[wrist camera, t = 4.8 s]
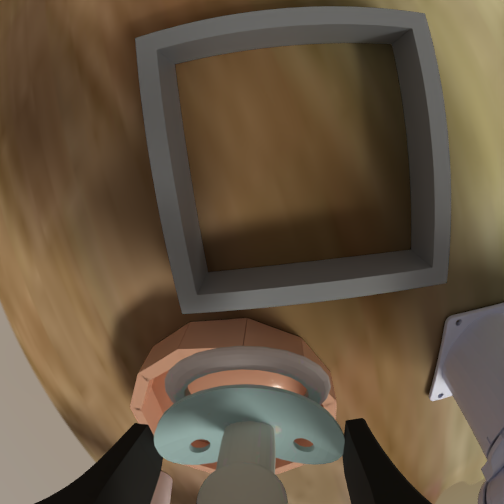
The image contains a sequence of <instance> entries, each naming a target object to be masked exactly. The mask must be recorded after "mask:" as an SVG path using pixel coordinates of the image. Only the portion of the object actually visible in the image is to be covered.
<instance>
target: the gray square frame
mask: <svg viewBox="0 0 504 504" xmlns="http://www.w3.org/2000/svg"><path fill="white" fill-rule="evenodd" d="M135 42H136V54H137V65H138V75H139V85H140V94H141V102H142V110H143V118H144V125H145V132H146V139H147V146H148V152H149V159H150V165H151V171H152V177H153V182H154V188H155V193H156V199H157V204H158V209H159V214H160V220H161V224H162V229H163V234H164V239H165V244H166V248H167V253H168V257H169V262H170V266H171V270H172V275H173V279H174V283H175V287H176V291H177V295H178V299H179V303H180V307H181V311H182V314H191V313H206V312H219V311H232V310H244V309H255V308H266V307H276V306H286V305H295V304H304V303H313V302H321V301H330V300H338V299H345V298H353V297H360V296H368V295H375V294H382V293H389V292H395V291H402V290H408V289H414V288H420V287H426V286H432V285H438V284H444V283H447V276H448V265H449V251H450V232H451V174H450V155H449V142H448V131H447V122H446V113H445V106H444V99H443V92H442V86H441V80H440V75H439V70H438V65H437V60H436V55H435V51H434V46H433V42H432V38H431V34H430V30H429V26H428V23H427V19H426V16H425V13H418V12H411V11H403V10H394V9H383V8H370V7H345V6H320V7H296V8H282V9H271V10H261V11H253V12H246V13H239V14H233V15H227V16H221V17H215V18H210V19H205V20H201V21H196V22H192V23H187V24H183V25H179V26H175V27H171V28H168V29H164V30H160V31H157V32H153V33H150V34H147V35H144V36H140V37H137V38H135ZM321 43H375V44H392V48H393V52H394V57H395V62H396V67H397V73H398V78H399V84H400V90H401V96H402V103H403V110H404V118H405V126H406V135H407V145H408V156H409V170H410V189H411V250H403V251H395V252H386V253H378V254H370V255H361V256H353V257H344V258H336V259H327V260H318V261H309V262H300V263H291V264H282V265H273V266H264V267H254V268H245V269H235V270H226V271H216V272H208V269H207V264H206V259H205V254H204V248H203V243H202V238H201V232H200V227H199V221H198V216H197V210H196V204H195V198H194V192H193V187H192V180H191V174H190V168H189V162H188V155H187V149H186V142H185V136H184V129H183V122H182V115H181V108H180V100H179V93H178V85H177V77H176V69H175V64H178V63H182V62H186V61H191V60H195V59H200V58H205V57H210V56H215V55H221V54H226V53H232V52H239V51H245V50H252V49H260V48H269V47H278V46H289V45H302V44H321Z"/></svg>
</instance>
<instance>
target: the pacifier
mask: <svg viewBox="0 0 504 504" xmlns="http://www.w3.org/2000/svg"><path fill="white" fill-rule="evenodd" d="M240 369H243V370H261V371H268V372H273V373H278V374H281V375H284V376H287V377H290V378H292V379H294V380H296V381H298V382H300V383H301V384H302V385H303V386H304V387H305V388H306V389H307V391H306V393H305V395H304V396H302V395H300V394H297V393H295V392H292V391H288V390H285V389H281V388H277V387H271V386H265V385H254V384H235V385H224V386H218V387H213V388H209V389H205V390H201V391H198V392H196V393H193V394H191V393H190V391H189V389H188V385H189V384H190V383H192V382H193V381H194V380H196V379H198V378H200V377H203V376H205V375H208V374H211V373H216V372H221V371H227V370H240ZM164 380H165V390H166V393H167V394H168V396H169V398H170V399H171V401H172V402H173V403H174V404H173V405H172V406H171V407H170V408H169V409H167V410H166V411H165V412H164V414H163V415H162V417H161V418H160V420H159V422H158V425H157V428H156V430H155V434H154V446H155V447H156V449H157V451H158V453H159V454H160V455H161V456H162V457H164V458H165V459H166V460H168V461H171V462H173V463H179V464H184V465H200V464H208V463H214V462H217V467H216V470H215V471H214V472H213V473H212V474H210V475H209V476H208V478H207V479H206V480H205V481H204V483H203V484H202V486H201V488H200V490H199V493H198V497H197V504H288V501H287V494H286V491H285V488H284V486H283V484H282V482H281V481H280V480H279V478H278V477H277V476H276V475H275V463H276V458H279V459H282V460H286V461H291V462H296V463H302V464H326V463H331V462H334V461H336V460H338V459H339V458H340V457H341V456H342V455H343V450H344V443H345V439H344V434H343V432H342V430H341V428H340V426H339V424H338V423H337V421H336V420H335V418H334V417H333V416H332V415H331V414H330V413H329V412H328V411H327V410H326V409H325V408H323V407H322V406H321V404H322V403H323V402H324V401H325V400H326V399H327V397H328V394H329V391H330V388H331V384H330V379H329V376H328V375H327V373H326V372H325V371H324V370H323V369H322V367H321V366H320V365H318V364H316V363H315V362H313V361H311V360H310V359H308V358H306V357H305V356H302V355H299V354H296V353H293V352H290V351H287V350H281V349H275V348H269V347H262V346H232V347H221V348H214V349H210V350H206V351H202V352H198V353H195V354H193V355H191V356H189V357H186V358H184V359H182V360H180V361H179V362H178V363H176V364H175V365H174V366H173V367H172V368H171V369H169V371H168V373H167V375H166V377H165V379H164ZM297 438H303V439H307V440H309V441H310V442H312V443H313V445H312V446H310V447H303V446H300V445H298V444H297V443H295V442H294V440H295V439H297ZM198 439H205V440H208V441H209V442H210V444H209V445H207V446H205V447H202V448H196V447H193V446H192V445H191V443H192V442H193V441H195V440H198Z"/></svg>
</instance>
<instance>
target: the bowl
mask: <svg viewBox="0 0 504 504" xmlns="http://www.w3.org/2000/svg"><path fill="white" fill-rule="evenodd" d="M232 346H262V347H269V348H275V349H281V350H287V351H290V352H293V353H296V354H299V355H302V356H305V357H306V358H308V359H310V360H311V361H313V362H315V363H316V364H318V365H320V366H321V367H322V369H323V370H324V371H325V372H326V373H327V375H328V376H329V379H330V384H331V388H330V391H329V394H328V397H327V399H326V400H325V401H324V402H323V403H322V404H321V406H322V407H323V408H325V409H326V410H327V411H328V412H329V413H330V414H331V415H332V416H333V417H334V418H335V420H336V406H337V401H336V397H335V392H334V387H333V382H332V377H331V373H330V371H329V370H328V368H327V367H326V366H325V365H324V364H323V363H322V361H321V360H320V359H319V358H318V357H317V356H316V354H315V353H314V352H313V351H312V350H311V348H310V347H309V346H308V345H307V344H306V343H305V341H304V340H303V339H302V338H301V337H298V336H295V335H292V334H290V333H287V332H284V331H281V330H279V329H276V328H273V327H270V326H268V325H265V324H262V323H260V322H257V321H254V320H252V319H249V318H239V319H226V320H212V321H197V322H189V323H188V324H186V325H185V326H183V327H182V328H180V329H179V330H177V331H176V332H174V333H173V334H171V335H170V336H168V337H166V338H165V339H163V340H162V341H160V342H159V343H157V344H156V345H154V346H153V347H152V349H151V351H150V352H149V354H148V356H147V358H146V360H145V362H144V363H143V365H142V367H141V369H140V371H139V372H138V375H137V379H136V383H135V387H134V392H133V396H132V400H131V405H130V408H131V410H132V412H133V414H134V416H135V418H136V420H137V422H138V423H139V424H147V425H149V427H150V429H151V431H152V433H153V435H154V434H155V430H156V428H157V425H158V422H159V420H160V418H161V417H162V415H163V414H164V412H165V411H166V410H167V409H169V408H170V407H171V406H172V405H173V404H174V403H173V402H172V401H171V399H170V398H169V396H168V394H167V393H166V390H165V380H164V379H165V377H166V375H167V373H168V371H169V369H171V368H172V367H173V366H174V365H175V364H176V363H178V362H179V361H180V360H182V359H184V358H186V357H189V356H191V355H193V354H195V353H198V352H202V351H206V350H210V349H214V348H221V347H232ZM235 384H254V385H265V386H271V387H277V388H281V389H285V390H288V391H292V392H295V393H297V394H300V395H302V396H304V395H305V393H306V391H307V389H306V388H305V387H304V386H303V385H302V384H301V383H300V382H298V381H296V380H294V379H292V378H290V377H287V376H284V375H281V374H278V373H273V372H268V371H261V370H243V369H240V370H227V371H221V372H216V373H211V374H208V375H205V376H203V377H200V378H198V379H196V380H194V381H193V382H192V383H190V384H189V385H188V389H189V391H190V393H191V394H193V393H196V392H198V391H201V390H205V389H209V388H213V387H218V386H224V385H235ZM294 442H295V443H297V444H298V445H300V446H303V447H310V446H312V445H313V443H312V442H310V441H309V440H307V439H303V438H297V439H295V440H294ZM209 444H210V442H209V441H208V440H205V439H198V440H195V441H193V442H192V443H191V445H192V446H193V447H196V448H202V447H205V446H207V445H209ZM183 465H184V464H183ZM302 465H304V464H302V463H296V462H291V461H286V460H282V459H279V458H276V463H275V475H276V474H279V473H282V472H285V471H288V470H291V469H293V468H296V467H299V466H302ZM186 466H189V467H192V468H195V469H199V470H202V471H205V472H209V473H213V472H214V471H215V470H216V467H217V462H214V463H208V464H200V465H186Z"/></svg>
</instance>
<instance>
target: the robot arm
mask: <svg viewBox="0 0 504 504" xmlns="http://www.w3.org/2000/svg"><path fill="white" fill-rule="evenodd" d="M457 320H459V321H458V322H457V323H456V321H457ZM449 396H453V397H454V399H455V400H456V402H457V404H458V406H459V407H460V409H461V411H462V413H463V415H464V416H465V418H466V420H467V422H468V424H469V426H470V427H471V429H472V431H473V433H474V435H475V437H476V439H477V441H478V443H479V444H480V446H481V448H482V450H483V452H484V454H485V456H486V458H487V462H486V464H485V465H484V466H483V467H482V469H481V470H482V472H483V474H484V477H485V479H486V481H485V482H484V483H483V485H482V487H481V489H480V492H479V496H478V504H504V303H500V304H496V305H492V306H488V307H484V308H480V309H476V310H472V311H468V312H464V313H459V314H455V315H451V316H449V317H448V318H447V319H446V321H445V325H444V331H443V336H442V342H441V347H440V351H439V356H438V361H437V365H436V369H435V374H434V378H433V382H432V385H431V389H430V393H429V399H430V400H431V401H435V400H439V399H442V398H446V397H449ZM344 439H345V443H344V450H343V465H344V473H345V478H346V482H347V487H348V491H349V496H350V500H351V504H432V503H430V502H429V501H428V500H427V499H426V498H425V497H424V496H423V495H421V494H420V493H419V492H418V491H417V490H416V489H415V488H414V487H413V486H412V485H411V484H410V483H409V482H408V480H407V479H406V478H405V477H404V476H403V475H402V474H401V472H400V471H399V470H398V469H397V468H396V466H395V465H394V464H393V463H392V461H391V460H390V459H389V457H388V456H387V455H386V453H385V452H384V451H383V449H382V448H381V446H380V445H379V443H378V442H377V440H376V439H375V437H374V435H373V434H372V432H371V430H370V429H369V427H368V425H367V423H366V421H365V420H364V419H363V418H360V419H353V420H347V421H346V424H345V432H344ZM162 460H163V457H162V456H161V455H160V454H159V453H158V451H157V449H156V447H155V446H154V435H153V433H152V431H151V429H150V427H149V425H147V424H138V423H135V424H134V425H133V426H132V427H131V428H130V429H129V430H128V431H127V432H126V433H125V434H124V435H123V436H122V437H121V438H120V439H119V440H118V441H117V442H116V443H115V445H114V446H113V447H112V448H111V449H110V450H109V451H108V452H107V453H106V454H105V455H104V456H103V457H102V458H101V459H100V460H99V461H98V462H96V463H95V464H94V465H93V466H92V467H91V468H90V469H89V470H88V471H86V472H85V473H84V474H83V475H82V476H81V477H79V478H78V479H76V480H75V481H74V482H72V483H71V484H70V485H68V486H67V487H65V488H63V489H62V490H60V491H58V492H57V493H55V494H53V495H52V496H50V497H48V498H46V499H44V500H42V501H39V502H37V503H35V504H150V503H151V500H152V497H153V494H154V491H155V488H156V485H157V482H158V479H159V476H160V471H161V466H162Z"/></svg>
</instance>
